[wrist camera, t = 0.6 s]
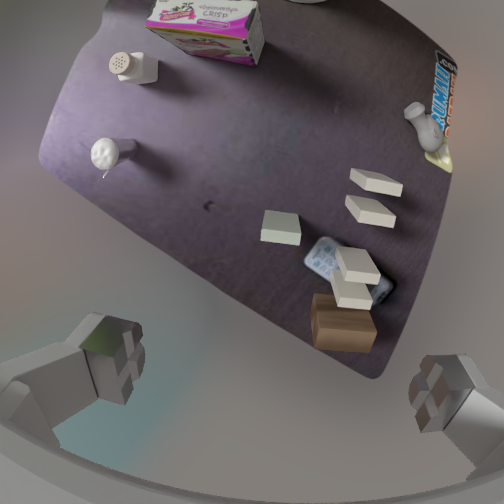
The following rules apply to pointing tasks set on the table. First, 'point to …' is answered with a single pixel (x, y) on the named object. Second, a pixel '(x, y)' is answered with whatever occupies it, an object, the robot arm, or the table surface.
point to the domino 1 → (281, 228)
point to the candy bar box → (211, 28)
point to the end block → (340, 326)
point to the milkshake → (112, 152)
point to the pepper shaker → (134, 67)
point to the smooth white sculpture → (425, 127)
